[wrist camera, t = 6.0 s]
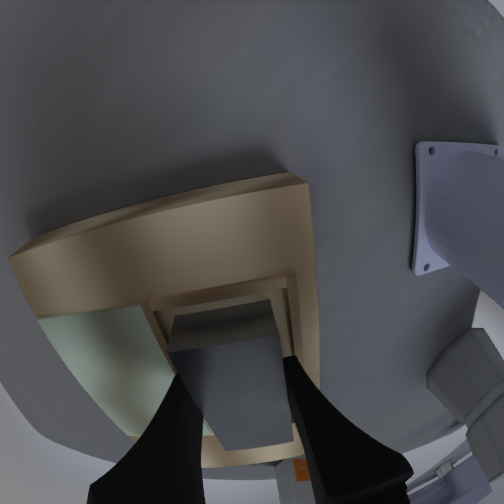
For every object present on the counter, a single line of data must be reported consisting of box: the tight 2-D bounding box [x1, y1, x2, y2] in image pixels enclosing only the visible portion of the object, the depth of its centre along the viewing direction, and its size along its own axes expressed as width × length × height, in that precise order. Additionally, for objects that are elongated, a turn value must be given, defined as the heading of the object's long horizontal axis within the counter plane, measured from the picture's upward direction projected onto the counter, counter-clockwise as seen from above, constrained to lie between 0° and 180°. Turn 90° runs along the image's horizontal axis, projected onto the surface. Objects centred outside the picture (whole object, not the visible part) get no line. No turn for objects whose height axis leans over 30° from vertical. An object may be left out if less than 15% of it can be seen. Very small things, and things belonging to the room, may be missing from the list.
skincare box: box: [275, 456, 316, 504], centre depth 20 cm, size 6×4×12 cm
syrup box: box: [435, 460, 454, 479], centre depth 51 cm, size 6×6×14 cm
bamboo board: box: [8, 172, 320, 468], centre depth 15 cm, size 14×22×3 cm, turn 10°
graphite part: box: [167, 299, 294, 451], centre depth 12 cm, size 4×9×2 cm, turn 10°
